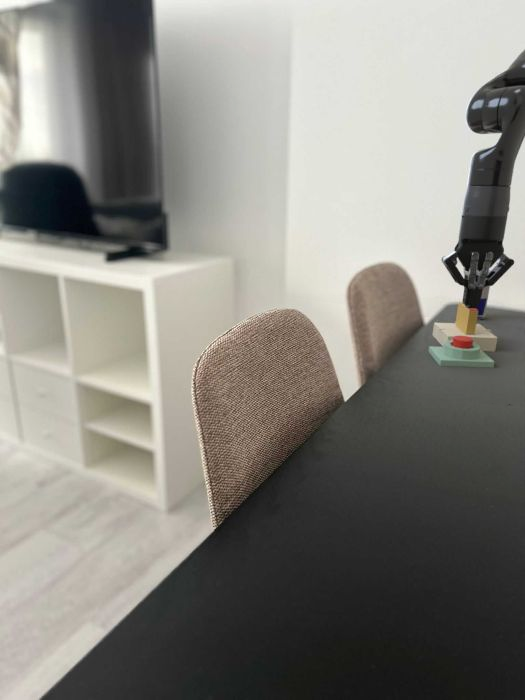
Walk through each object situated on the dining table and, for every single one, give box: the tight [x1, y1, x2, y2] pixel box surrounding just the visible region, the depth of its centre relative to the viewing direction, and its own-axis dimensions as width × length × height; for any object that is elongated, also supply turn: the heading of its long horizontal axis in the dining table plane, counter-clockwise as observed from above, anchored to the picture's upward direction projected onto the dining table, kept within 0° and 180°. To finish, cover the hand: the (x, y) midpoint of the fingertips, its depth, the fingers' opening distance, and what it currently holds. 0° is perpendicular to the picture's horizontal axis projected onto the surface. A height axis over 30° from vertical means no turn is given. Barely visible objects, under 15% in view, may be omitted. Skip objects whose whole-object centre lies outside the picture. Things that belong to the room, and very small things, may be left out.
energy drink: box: [476, 269, 492, 321], centre depth 128 cm, size 5×5×12 cm
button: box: [452, 336, 473, 349], centre depth 99 cm, size 4×4×2 cm
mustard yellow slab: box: [454, 302, 478, 335], centre depth 108 cm, size 7×2×5 cm, turn 177°
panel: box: [432, 321, 498, 352], centre depth 109 cm, size 11×11×3 cm
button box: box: [428, 340, 495, 368], centre depth 99 cm, size 10×8×3 cm
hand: (470, 307), depth 96 cm, fingers closed
